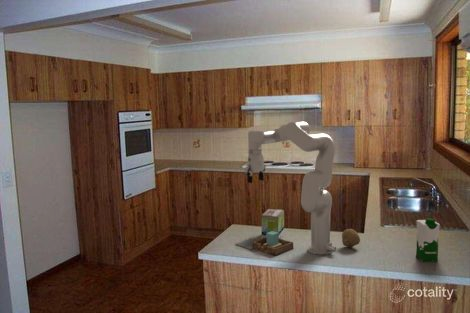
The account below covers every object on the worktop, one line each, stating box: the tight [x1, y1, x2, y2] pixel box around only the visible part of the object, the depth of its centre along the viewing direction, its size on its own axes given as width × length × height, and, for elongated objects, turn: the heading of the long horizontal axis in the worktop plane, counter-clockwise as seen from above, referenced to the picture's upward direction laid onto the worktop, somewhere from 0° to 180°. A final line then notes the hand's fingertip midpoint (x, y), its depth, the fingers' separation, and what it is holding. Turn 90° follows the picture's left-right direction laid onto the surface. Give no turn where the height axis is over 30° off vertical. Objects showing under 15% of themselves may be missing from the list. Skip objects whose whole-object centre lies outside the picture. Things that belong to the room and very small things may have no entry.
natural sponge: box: [341, 228, 361, 249], centre depth 211 cm, size 9×9×10 cm
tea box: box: [261, 208, 285, 239], centre depth 230 cm, size 15×10×15 cm, turn 161°
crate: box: [252, 237, 294, 257], centre depth 213 cm, size 16×14×4 cm
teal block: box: [266, 231, 279, 246], centre depth 212 cm, size 4×4×6 cm
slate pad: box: [235, 238, 258, 251], centre depth 220 cm, size 12×12×1 cm
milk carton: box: [415, 217, 441, 262], centre depth 193 cm, size 9×9×20 cm
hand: (255, 181), depth 236 cm, fingers open, 9 cm apart
